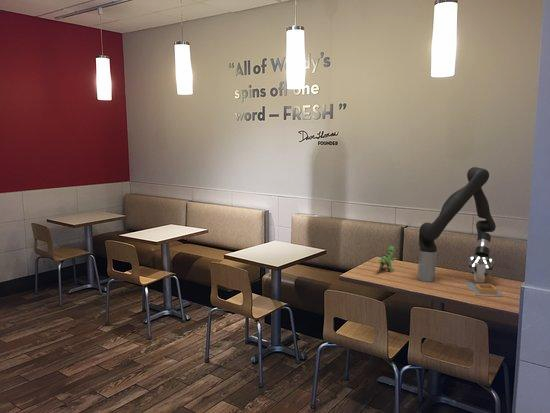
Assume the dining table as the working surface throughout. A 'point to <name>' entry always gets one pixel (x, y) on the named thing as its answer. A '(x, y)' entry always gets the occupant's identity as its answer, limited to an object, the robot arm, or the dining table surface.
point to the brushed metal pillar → (479, 272)
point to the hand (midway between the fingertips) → (479, 274)
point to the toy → (387, 260)
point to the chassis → (483, 289)
